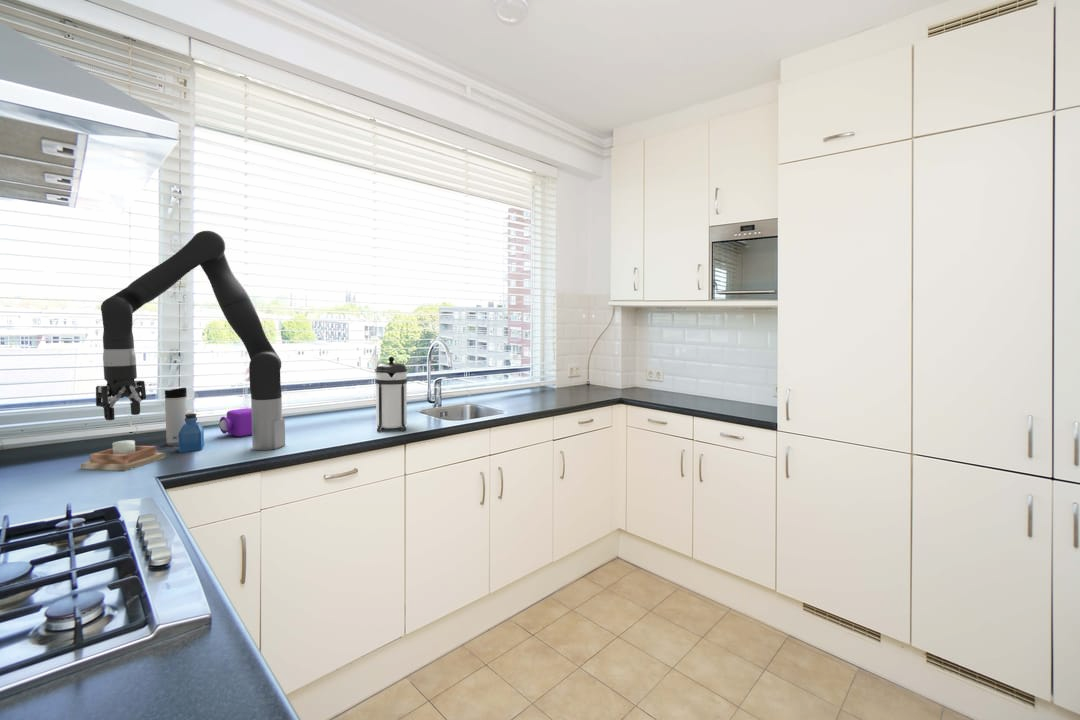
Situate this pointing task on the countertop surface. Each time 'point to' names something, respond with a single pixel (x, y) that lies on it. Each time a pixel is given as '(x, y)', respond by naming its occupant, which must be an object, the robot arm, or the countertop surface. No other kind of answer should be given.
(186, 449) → the perfume bottle
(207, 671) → the countertop surface
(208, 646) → the countertop surface
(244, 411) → the toy camera
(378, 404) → the coffee press
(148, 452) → the socket stand
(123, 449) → the white cube
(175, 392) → the travel mug
